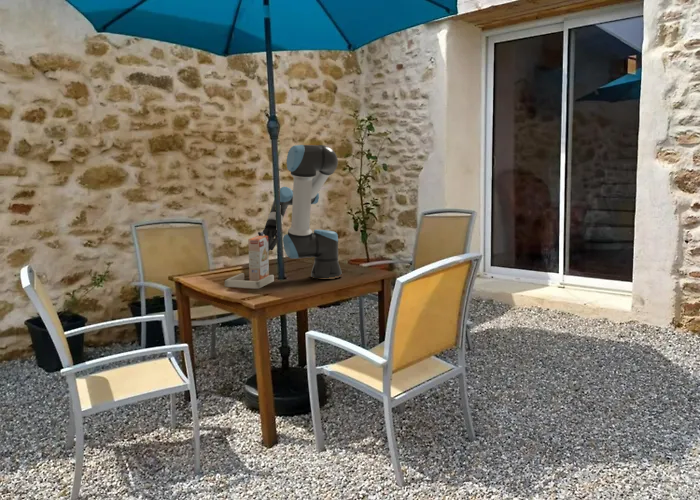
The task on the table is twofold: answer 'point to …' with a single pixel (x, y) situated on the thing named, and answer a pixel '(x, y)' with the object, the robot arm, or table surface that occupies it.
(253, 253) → the cracker box
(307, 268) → the table surface
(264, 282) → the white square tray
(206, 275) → the table surface
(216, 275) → the table surface
